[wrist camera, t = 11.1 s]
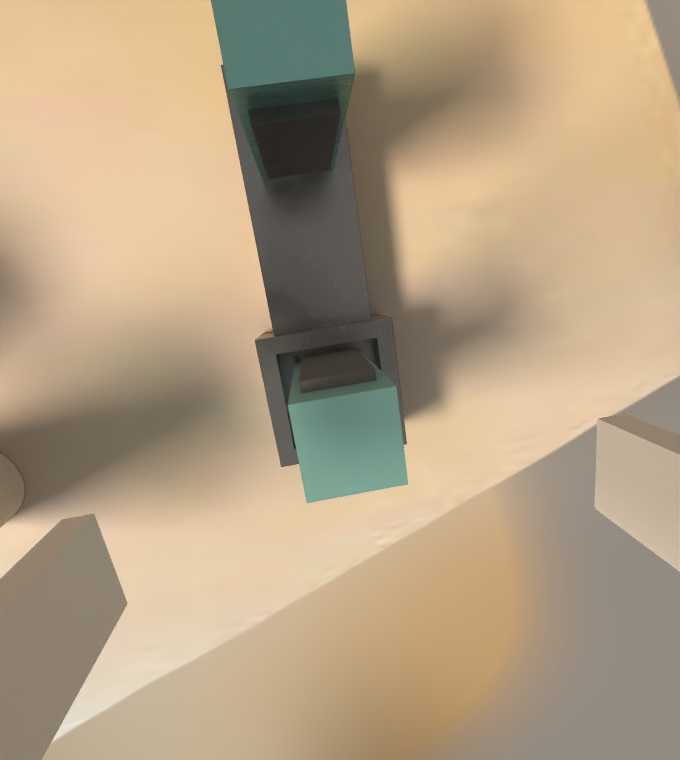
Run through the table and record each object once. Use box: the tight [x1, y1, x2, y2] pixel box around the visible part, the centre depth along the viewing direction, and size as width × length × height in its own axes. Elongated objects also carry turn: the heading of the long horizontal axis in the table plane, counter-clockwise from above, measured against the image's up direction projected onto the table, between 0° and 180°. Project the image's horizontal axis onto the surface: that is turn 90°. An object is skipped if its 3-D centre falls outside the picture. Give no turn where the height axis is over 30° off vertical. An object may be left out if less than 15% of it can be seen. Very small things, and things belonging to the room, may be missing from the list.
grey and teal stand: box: [211, 0, 407, 467], centre depth 18 cm, size 22×8×11 cm, turn 9°
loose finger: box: [288, 349, 408, 503], centre depth 19 cm, size 5×4×9 cm
